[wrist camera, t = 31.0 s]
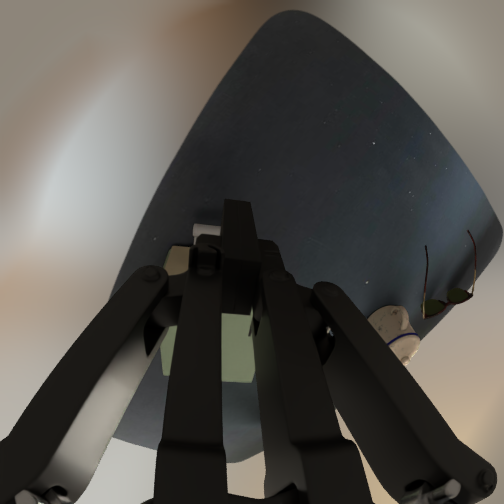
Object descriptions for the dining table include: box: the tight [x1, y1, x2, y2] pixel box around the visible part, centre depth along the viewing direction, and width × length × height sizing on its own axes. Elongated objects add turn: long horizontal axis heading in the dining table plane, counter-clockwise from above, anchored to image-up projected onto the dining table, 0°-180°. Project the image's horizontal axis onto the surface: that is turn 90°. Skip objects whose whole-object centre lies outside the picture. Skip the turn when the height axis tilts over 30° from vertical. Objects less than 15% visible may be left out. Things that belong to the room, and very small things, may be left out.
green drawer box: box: [160, 249, 255, 382], centre depth 42 cm, size 19×15×9 cm
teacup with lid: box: [367, 305, 420, 366], centre depth 46 cm, size 12×9×12 cm
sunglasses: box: [421, 230, 476, 320], centre depth 45 cm, size 14×15×5 cm
